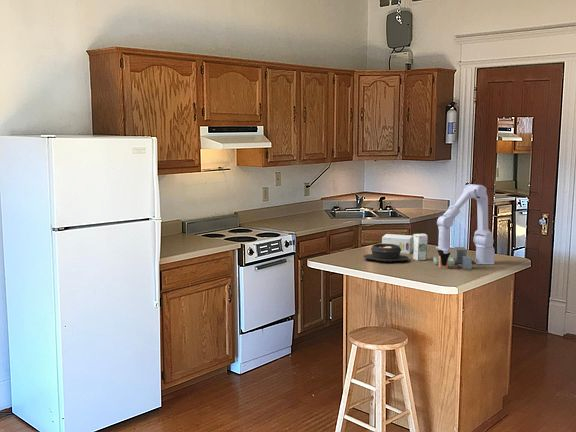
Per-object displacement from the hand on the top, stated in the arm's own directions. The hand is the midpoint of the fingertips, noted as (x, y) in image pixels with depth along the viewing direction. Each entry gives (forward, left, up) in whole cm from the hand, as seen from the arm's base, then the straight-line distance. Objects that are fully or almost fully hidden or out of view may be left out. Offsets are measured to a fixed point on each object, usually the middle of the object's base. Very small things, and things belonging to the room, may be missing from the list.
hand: (443, 264), depth 329 cm
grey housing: (-11, -14, -2) cm, 18 cm away
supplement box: (+20, -46, -2) cm, 50 cm away
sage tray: (-2, -12, -2) cm, 12 cm away
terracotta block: (0, 0, -2) cm, 2 cm away
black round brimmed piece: (+29, -16, -2) cm, 33 cm away
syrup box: (+10, -20, -2) cm, 22 cm away
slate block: (-12, 0, -2) cm, 12 cm away
